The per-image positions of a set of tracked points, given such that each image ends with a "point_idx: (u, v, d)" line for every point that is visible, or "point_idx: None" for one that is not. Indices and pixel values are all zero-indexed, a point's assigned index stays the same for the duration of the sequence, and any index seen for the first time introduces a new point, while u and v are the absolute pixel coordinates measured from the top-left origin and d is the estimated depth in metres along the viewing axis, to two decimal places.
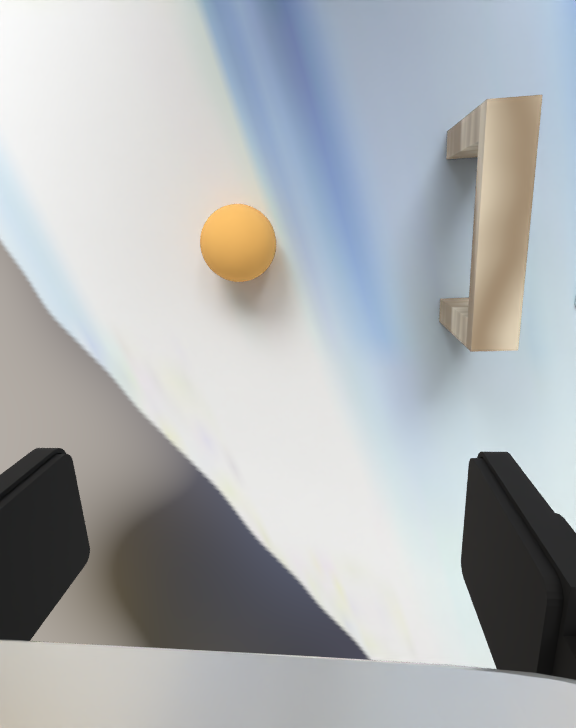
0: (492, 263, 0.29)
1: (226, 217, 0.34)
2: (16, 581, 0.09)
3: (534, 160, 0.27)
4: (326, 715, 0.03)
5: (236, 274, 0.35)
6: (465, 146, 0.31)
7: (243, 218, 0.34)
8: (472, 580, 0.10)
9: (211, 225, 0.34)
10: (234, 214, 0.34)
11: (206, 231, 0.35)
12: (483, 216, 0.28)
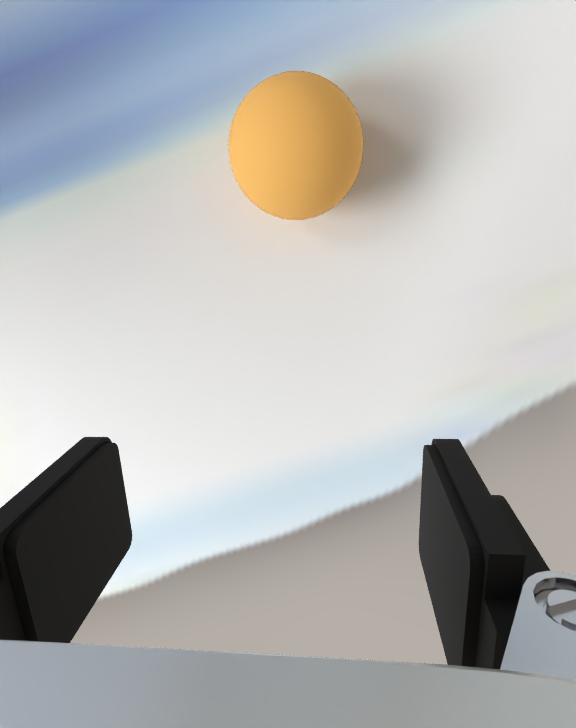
0: None
1: (243, 152, 0.19)
2: (74, 561, 0.09)
3: None
4: (326, 715, 0.03)
5: (346, 137, 0.18)
6: None
7: (245, 118, 0.18)
8: (426, 559, 0.10)
9: (257, 182, 0.19)
10: (238, 137, 0.19)
11: (268, 196, 0.19)
12: None
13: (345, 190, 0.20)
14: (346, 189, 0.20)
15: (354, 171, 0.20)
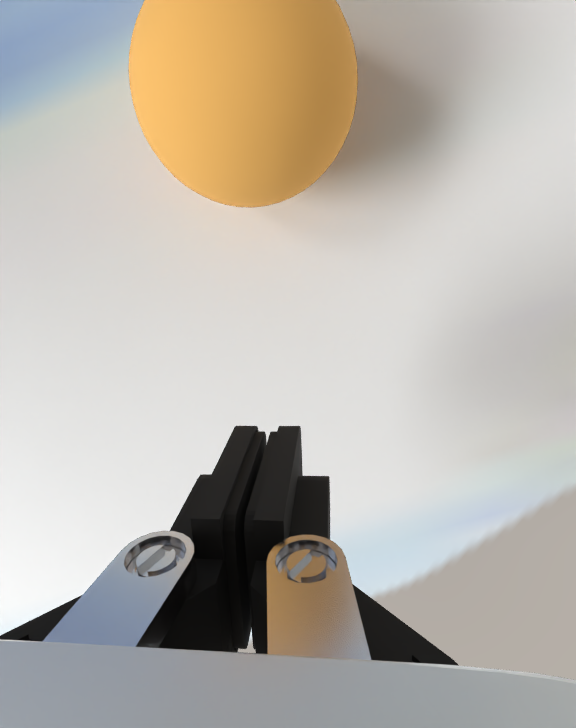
0: None
1: (146, 84, 0.11)
2: None
3: None
4: (326, 715, 0.03)
5: (328, 57, 0.10)
6: None
7: (145, 21, 0.10)
8: None
9: (174, 140, 0.11)
10: (137, 58, 0.11)
11: (194, 164, 0.11)
12: None
13: (328, 156, 0.12)
14: (330, 155, 0.12)
15: (343, 123, 0.12)
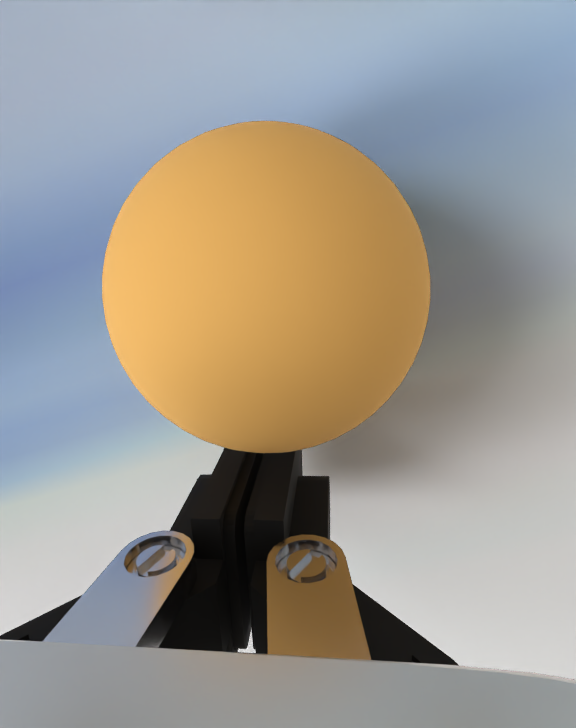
0: None
1: None
2: None
3: None
4: (326, 715, 0.03)
5: None
6: None
7: None
8: None
9: (181, 144, 0.07)
10: None
11: (196, 143, 0.07)
12: None
13: (407, 230, 0.07)
14: (409, 233, 0.07)
15: (420, 234, 0.08)
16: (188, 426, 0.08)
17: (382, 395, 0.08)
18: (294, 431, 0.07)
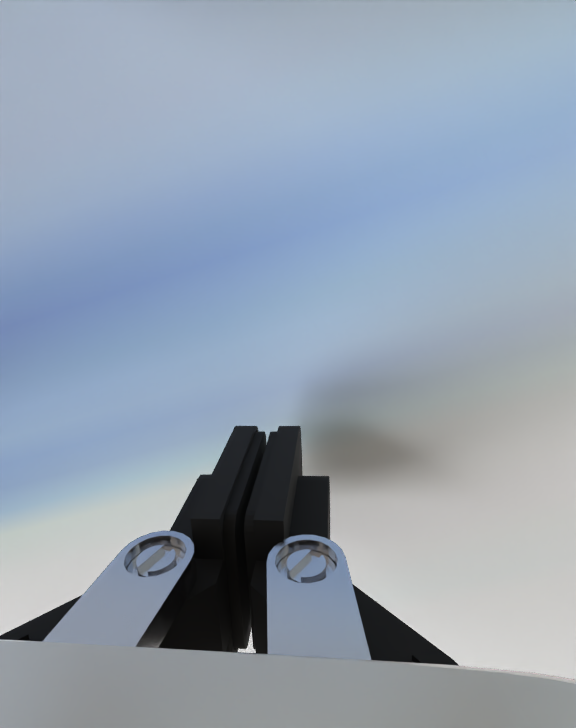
0: None
1: None
2: None
3: None
4: (325, 715, 0.03)
5: None
6: None
7: None
8: None
9: None
10: None
11: None
12: None
13: None
14: None
15: None
16: None
17: None
18: None
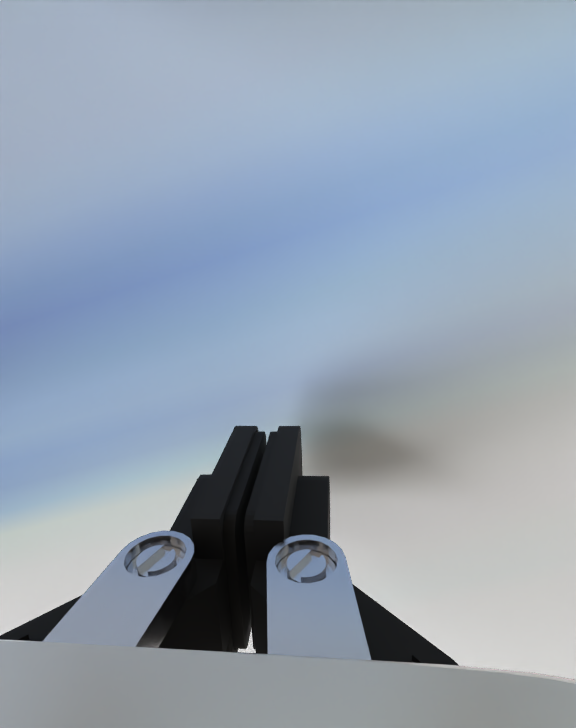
0: None
1: None
2: None
3: None
4: (325, 715, 0.03)
5: None
6: None
7: None
8: None
9: None
10: None
11: None
12: None
13: None
14: None
15: None
16: None
17: None
18: None
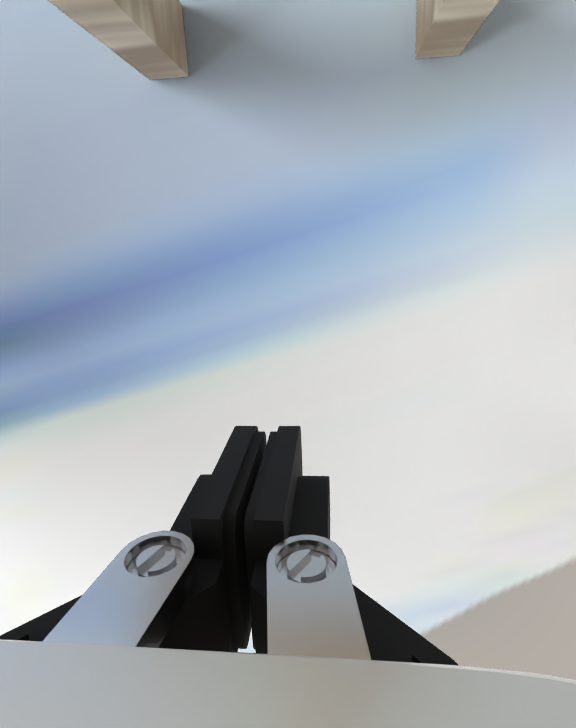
0: None
1: None
2: None
3: None
4: (326, 715, 0.03)
5: None
6: (141, 32, 0.18)
7: None
8: None
9: None
10: None
11: None
12: None
13: None
14: None
15: None
16: None
17: None
18: None
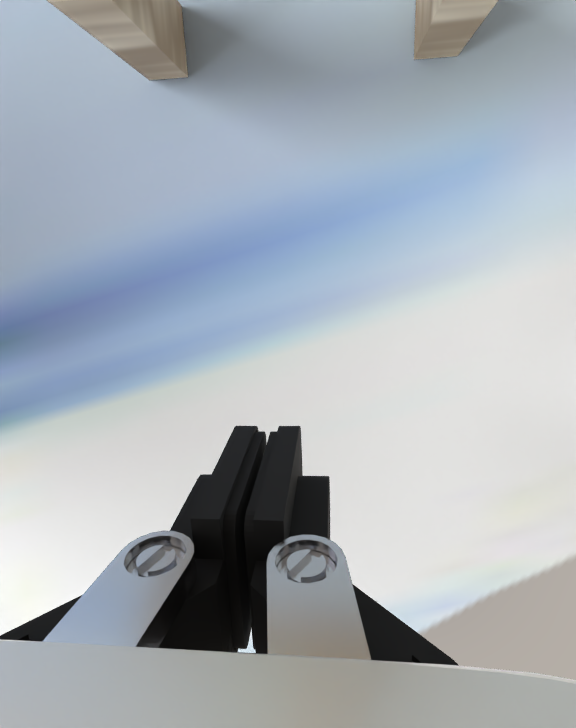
0: None
1: None
2: None
3: None
4: (326, 715, 0.03)
5: None
6: (141, 33, 0.18)
7: None
8: None
9: None
10: None
11: None
12: None
13: None
14: None
15: None
16: None
17: None
18: None
